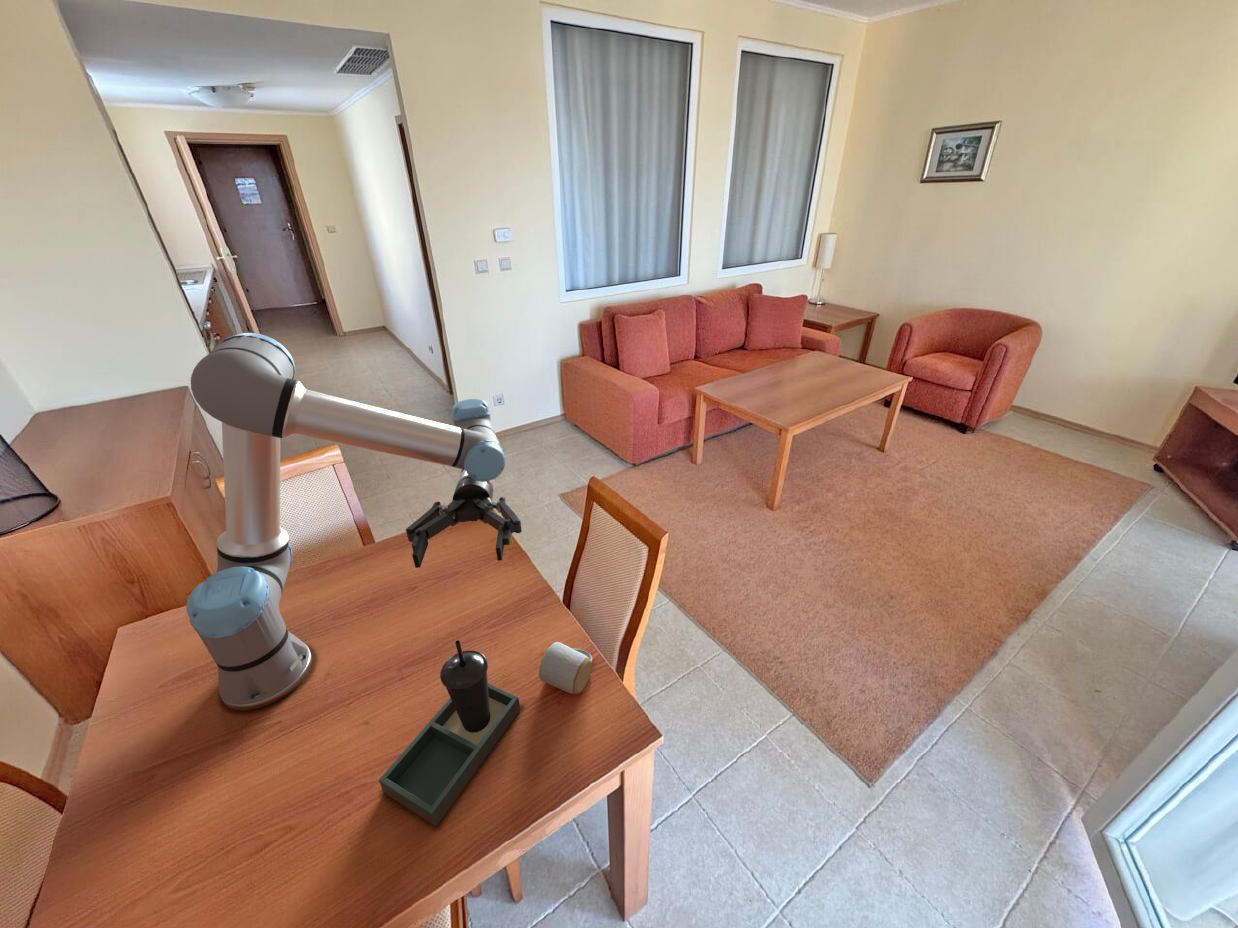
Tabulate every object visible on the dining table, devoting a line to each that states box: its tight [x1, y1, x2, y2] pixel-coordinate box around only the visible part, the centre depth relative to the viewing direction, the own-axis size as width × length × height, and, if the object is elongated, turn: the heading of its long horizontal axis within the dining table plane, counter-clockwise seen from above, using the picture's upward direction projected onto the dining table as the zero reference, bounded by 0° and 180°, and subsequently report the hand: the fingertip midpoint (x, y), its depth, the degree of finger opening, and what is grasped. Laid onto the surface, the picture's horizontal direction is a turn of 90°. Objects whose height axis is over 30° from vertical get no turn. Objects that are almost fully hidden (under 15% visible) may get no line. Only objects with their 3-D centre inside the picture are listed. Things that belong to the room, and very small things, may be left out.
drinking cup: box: [439, 640, 490, 733], centre depth 84 cm, size 8×8×20 cm
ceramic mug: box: [538, 641, 593, 695], centre depth 96 cm, size 11×8×8 cm
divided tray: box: [378, 682, 521, 827], centre depth 84 cm, size 11×21×4 cm, turn 154°
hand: (457, 558), depth 83 cm, fingers open, 13 cm apart
